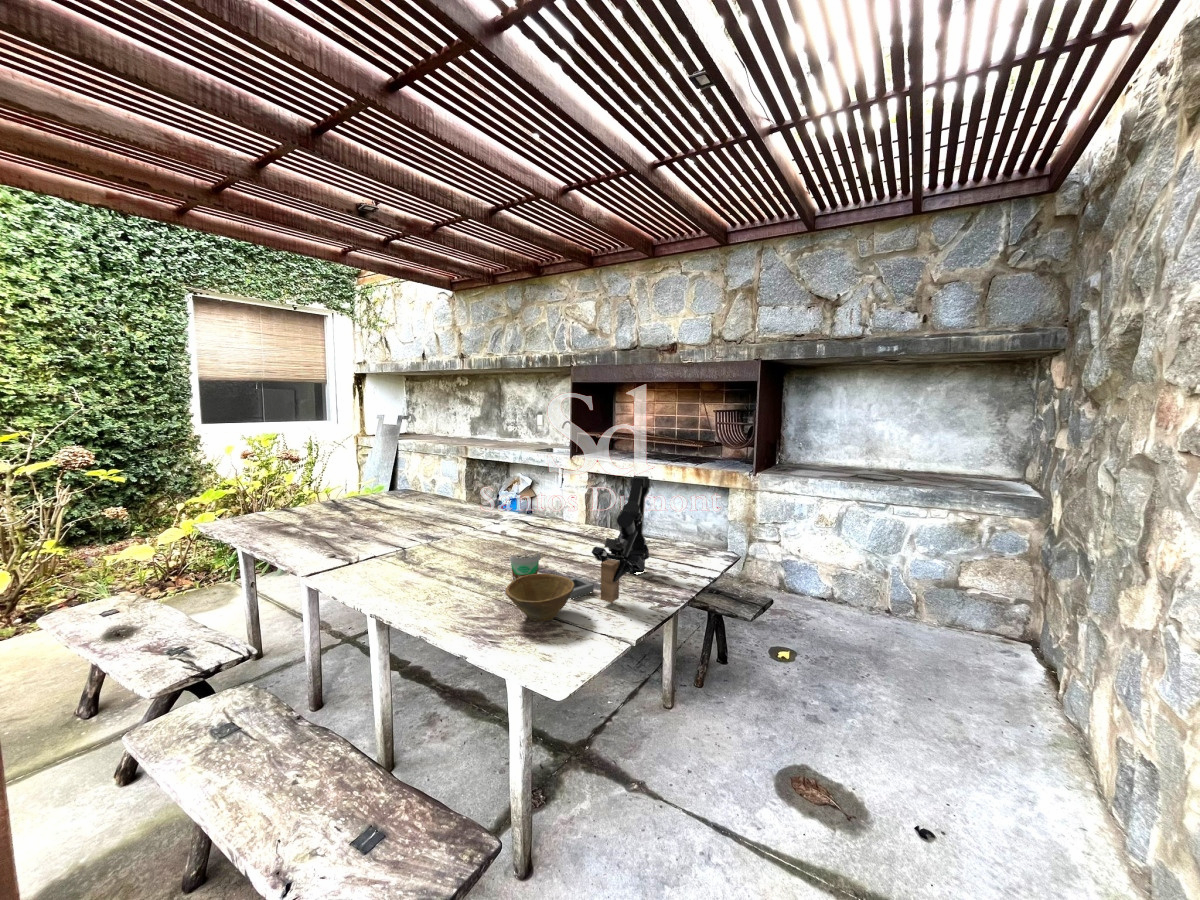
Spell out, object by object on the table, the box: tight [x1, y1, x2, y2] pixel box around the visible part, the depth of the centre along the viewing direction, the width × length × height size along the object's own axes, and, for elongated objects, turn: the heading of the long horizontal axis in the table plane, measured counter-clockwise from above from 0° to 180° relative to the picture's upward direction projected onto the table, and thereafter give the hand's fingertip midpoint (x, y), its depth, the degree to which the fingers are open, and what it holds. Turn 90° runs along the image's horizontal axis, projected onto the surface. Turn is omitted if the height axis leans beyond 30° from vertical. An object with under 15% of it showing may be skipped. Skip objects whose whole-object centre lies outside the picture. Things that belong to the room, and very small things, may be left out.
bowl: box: [505, 572, 575, 623], centre depth 160 cm, size 22×23×10 cm
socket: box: [569, 576, 595, 600], centre depth 180 cm, size 10×10×3 cm
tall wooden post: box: [600, 559, 620, 603], centre depth 169 cm, size 4×4×13 cm
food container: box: [508, 552, 542, 581], centre depth 189 cm, size 12×6×10 cm, turn 105°
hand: (607, 580), depth 167 cm, fingers closed on tall wooden post, 4 cm apart
